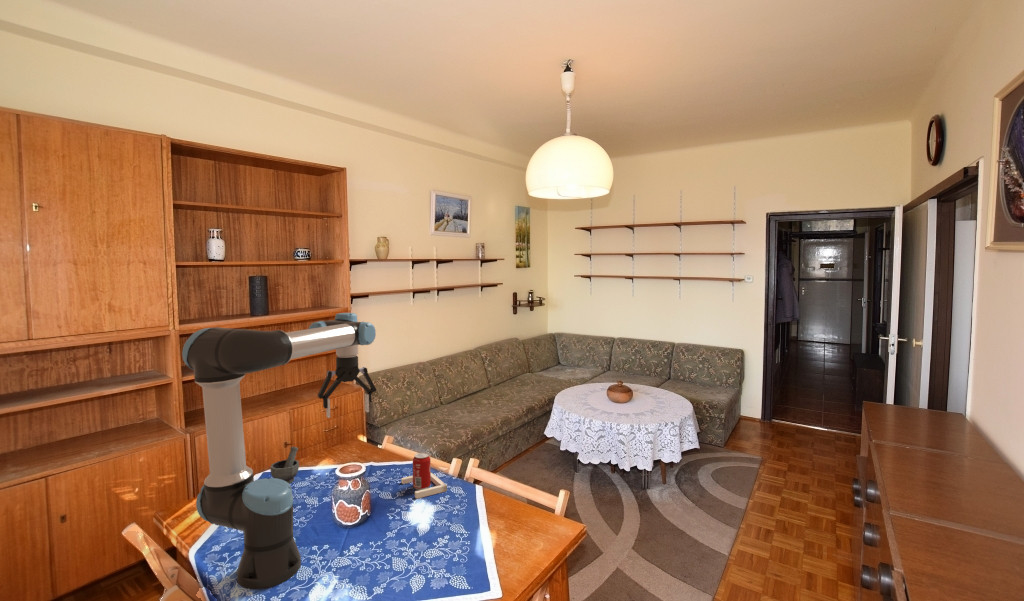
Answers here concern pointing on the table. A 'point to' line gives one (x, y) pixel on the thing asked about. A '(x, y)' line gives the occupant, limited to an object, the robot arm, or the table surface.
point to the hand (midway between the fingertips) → (348, 414)
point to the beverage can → (421, 471)
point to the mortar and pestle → (286, 467)
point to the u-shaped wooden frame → (429, 491)
